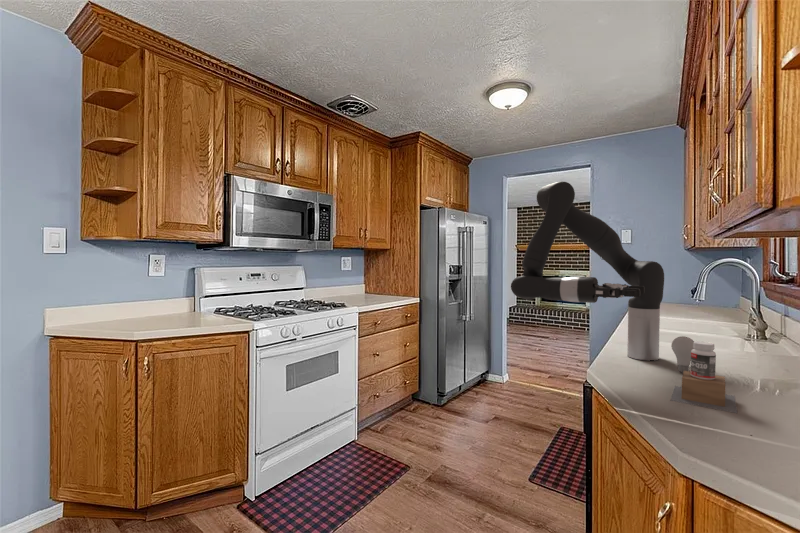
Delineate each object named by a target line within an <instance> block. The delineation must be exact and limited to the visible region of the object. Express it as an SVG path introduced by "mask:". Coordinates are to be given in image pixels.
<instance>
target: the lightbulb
mask: <svg viewBox="0 0 800 533" xmlns="http://www.w3.org/2000/svg"><path fill="white" fill-rule="evenodd" d="M693 342H694V340H693V339H692V338H691V337H688V336H683V335H681V336H677V337H675V338H674V339H673V340H672V342H671V350H672V352H673V354H674V355H675V358H676V363H677V366H678V367H677V369H678V371H679V372H680V373H681V374H683V372H684V371H690V366H691V350H692V349H694V348H693Z"/></svg>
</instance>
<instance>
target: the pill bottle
mask: <svg viewBox="0 0 800 533" xmlns="http://www.w3.org/2000/svg"><path fill="white" fill-rule="evenodd" d="M693 341H694V340H693ZM693 348H694V349H692V350H691V362H690V374H691V376H692V377H695V378H698V379H704V380H714V379H715V375H716V364H717V363H716V362H717V360H716V359H717V354H716V352H715V343H713V342H709V341H701V340H699V341H697V340H696V341H694V342H693Z"/></svg>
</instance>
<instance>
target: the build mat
mask: <svg viewBox="0 0 800 533" xmlns="http://www.w3.org/2000/svg"><path fill="white" fill-rule="evenodd" d="M670 401H671V402H677V403H682V404H685V405H691V406H692V405H693V406H697V407H703V408H708V409H714V410H718V411H723V412H728V413H729V412H730V413H734V414H738V409H737V403H736V396H735V395H733V394H726V393H725V407H723V406H718V405H713V404H707V403H702V402H697V401H691V400H686V399H682V385H681V386H679V385H674V387H673V390H672V393H671V397H670Z"/></svg>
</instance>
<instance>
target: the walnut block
mask: <svg viewBox="0 0 800 533" xmlns="http://www.w3.org/2000/svg"><path fill="white" fill-rule="evenodd" d="M690 372H691V370H689V371H684V372H683V373H682V377H681V387H682V399H686V400H691V401H697V402H702V403H707V404H713V405H718V406H723V407H725V394H726V376H722V375H717V374H715V379H714V380H704V379H698V378H695V377H692V376H691V374H690Z"/></svg>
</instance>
